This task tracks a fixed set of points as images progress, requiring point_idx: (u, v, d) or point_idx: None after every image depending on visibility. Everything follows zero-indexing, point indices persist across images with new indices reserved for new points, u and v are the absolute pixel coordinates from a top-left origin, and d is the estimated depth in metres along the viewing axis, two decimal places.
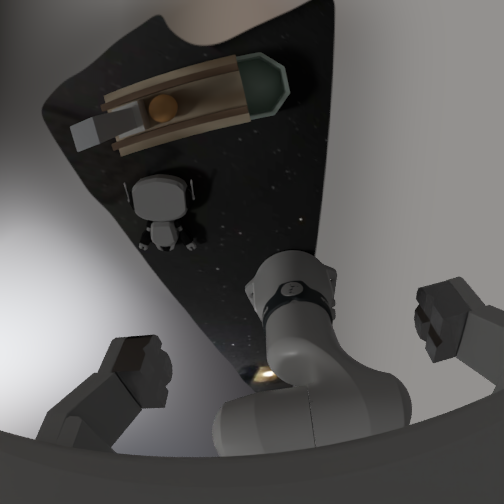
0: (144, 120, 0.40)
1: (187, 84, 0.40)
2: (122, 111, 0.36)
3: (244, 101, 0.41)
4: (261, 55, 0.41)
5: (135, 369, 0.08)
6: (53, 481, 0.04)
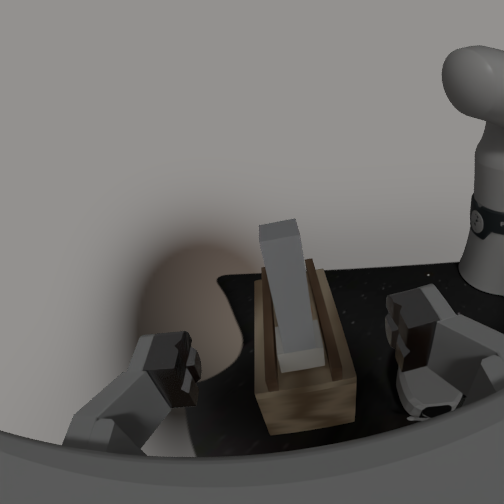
0: None
1: (274, 309, 0.40)
2: None
3: None
4: None
5: (169, 367, 0.08)
6: (53, 481, 0.04)
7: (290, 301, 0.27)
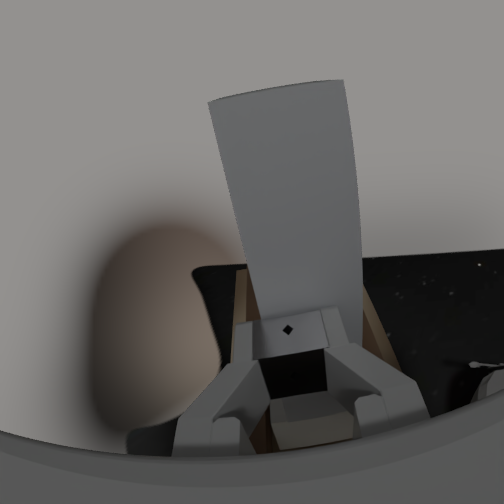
0: None
1: None
2: None
3: None
4: None
5: (284, 353, 0.08)
6: (53, 481, 0.04)
7: (308, 307, 0.09)
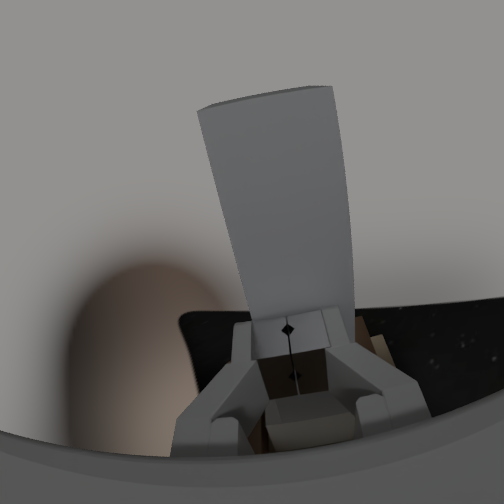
0: None
1: None
2: None
3: None
4: None
5: (283, 353, 0.08)
6: (53, 481, 0.04)
7: (299, 312, 0.09)
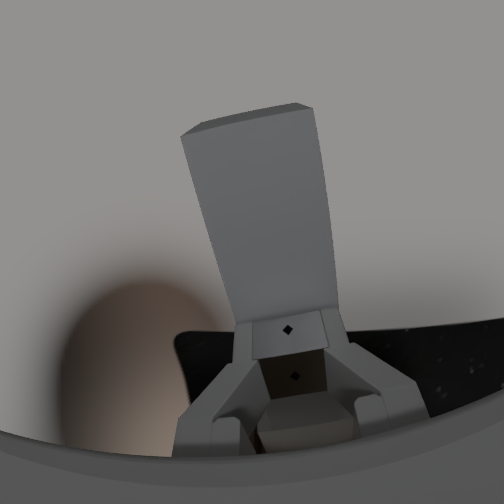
0: None
1: None
2: None
3: None
4: None
5: (284, 353, 0.08)
6: (53, 481, 0.04)
7: None
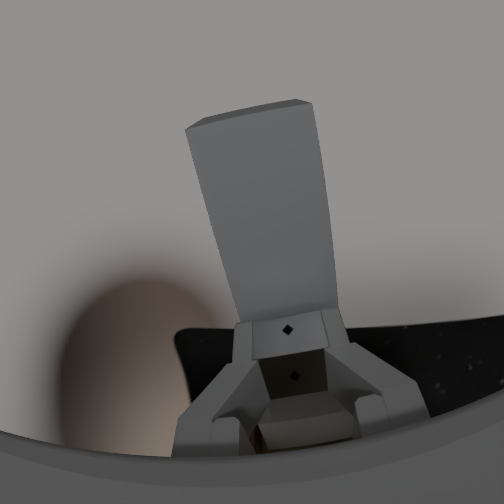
0: None
1: None
2: None
3: None
4: None
5: (284, 353, 0.08)
6: (53, 481, 0.04)
7: None
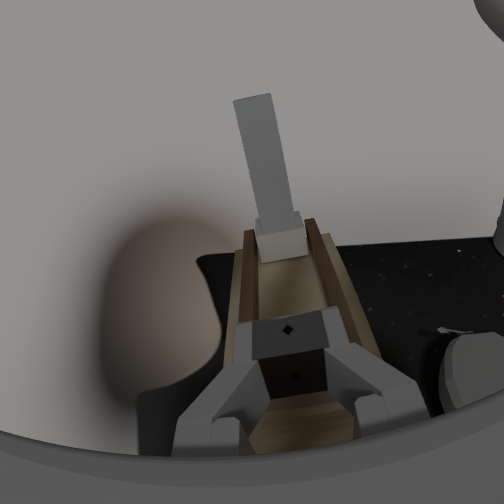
0: None
1: (260, 286, 0.28)
2: None
3: None
4: None
5: (284, 353, 0.08)
6: (53, 481, 0.04)
7: (265, 167, 0.26)
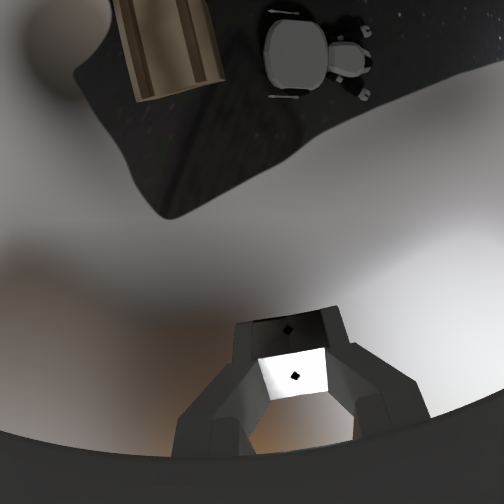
0: None
1: (134, 2, 0.27)
2: None
3: None
4: None
5: (284, 353, 0.08)
6: (53, 481, 0.04)
7: None
